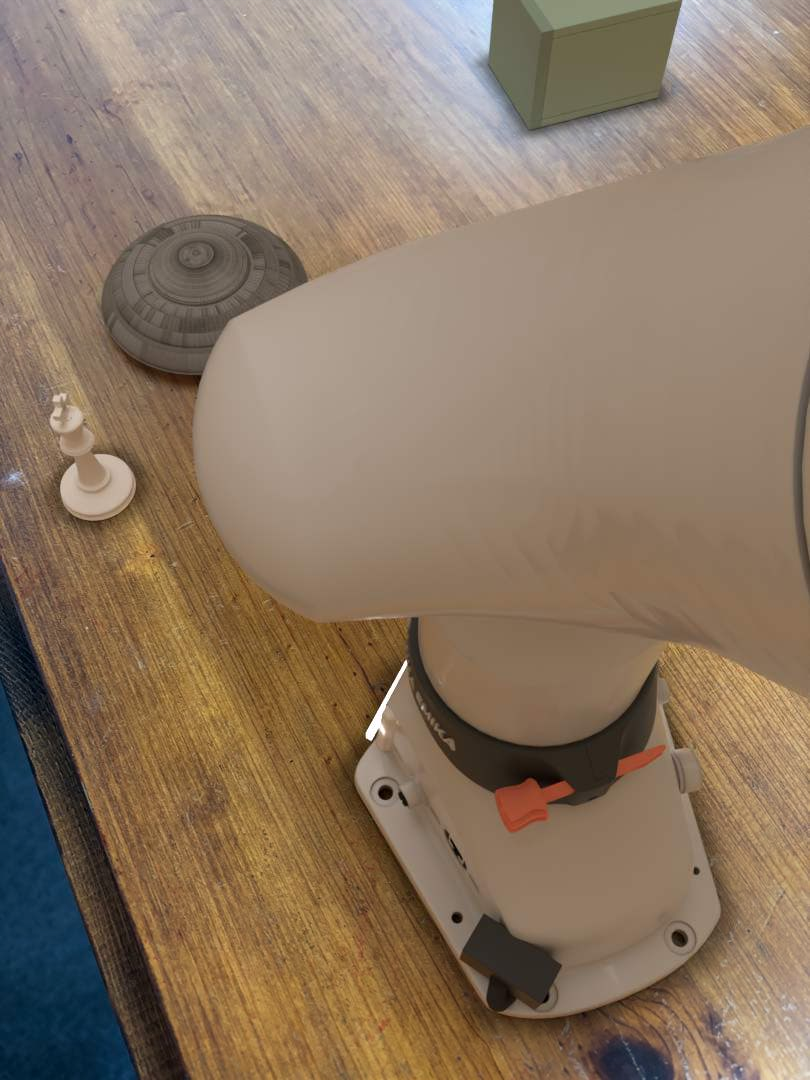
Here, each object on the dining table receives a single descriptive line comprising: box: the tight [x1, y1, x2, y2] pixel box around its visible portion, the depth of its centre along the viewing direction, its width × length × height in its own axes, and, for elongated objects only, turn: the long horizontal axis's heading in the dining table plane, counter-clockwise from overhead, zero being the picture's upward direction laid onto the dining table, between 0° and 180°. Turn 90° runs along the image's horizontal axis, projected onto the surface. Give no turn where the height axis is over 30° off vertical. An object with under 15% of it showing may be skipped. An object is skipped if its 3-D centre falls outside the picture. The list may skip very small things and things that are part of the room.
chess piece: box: [49, 392, 137, 522], centre depth 66 cm, size 5×5×10 cm
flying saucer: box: [100, 213, 309, 376], centre depth 76 cm, size 15×15×6 cm
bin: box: [487, 0, 684, 131], centre depth 87 cm, size 9×12×9 cm
